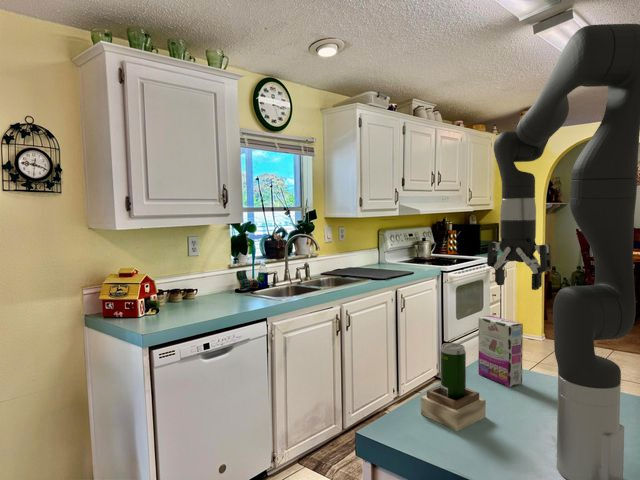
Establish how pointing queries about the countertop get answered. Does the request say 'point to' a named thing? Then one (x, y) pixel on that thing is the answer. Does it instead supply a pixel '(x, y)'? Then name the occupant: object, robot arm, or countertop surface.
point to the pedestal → (453, 408)
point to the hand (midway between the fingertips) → (517, 287)
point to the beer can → (453, 371)
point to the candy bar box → (500, 350)
